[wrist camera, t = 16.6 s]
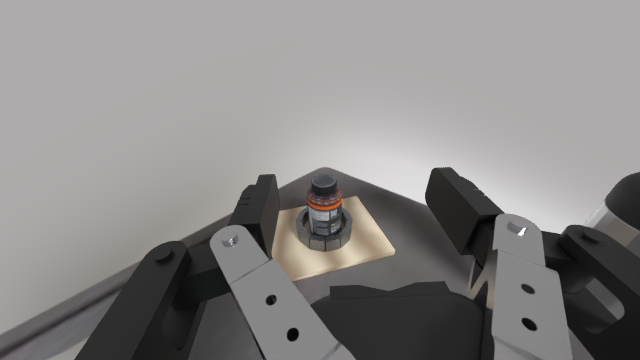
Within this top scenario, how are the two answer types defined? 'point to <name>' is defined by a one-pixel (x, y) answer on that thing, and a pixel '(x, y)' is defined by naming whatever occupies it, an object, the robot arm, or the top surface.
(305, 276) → the birch board
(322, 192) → the supplement bottle
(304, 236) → the metal collar
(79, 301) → the top surface
